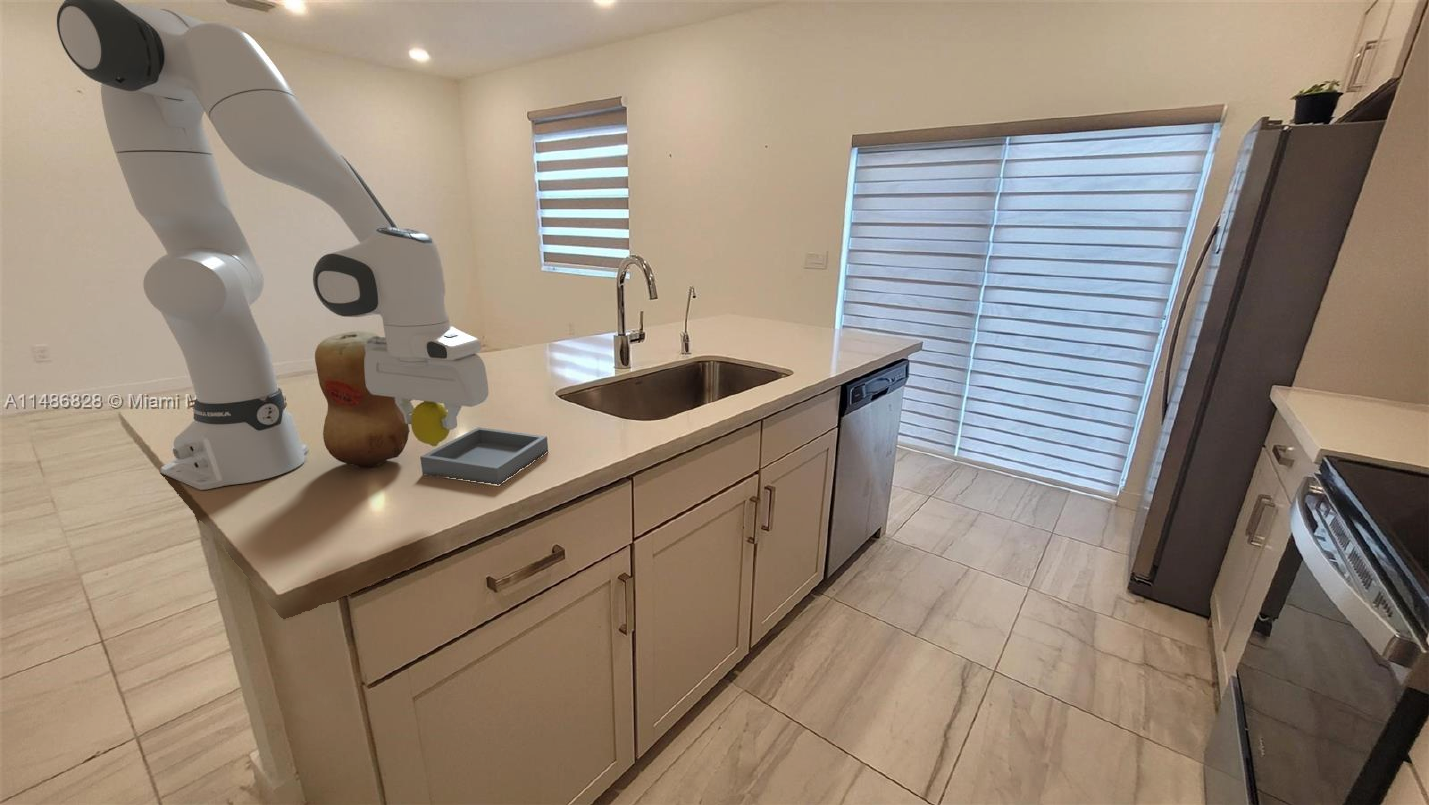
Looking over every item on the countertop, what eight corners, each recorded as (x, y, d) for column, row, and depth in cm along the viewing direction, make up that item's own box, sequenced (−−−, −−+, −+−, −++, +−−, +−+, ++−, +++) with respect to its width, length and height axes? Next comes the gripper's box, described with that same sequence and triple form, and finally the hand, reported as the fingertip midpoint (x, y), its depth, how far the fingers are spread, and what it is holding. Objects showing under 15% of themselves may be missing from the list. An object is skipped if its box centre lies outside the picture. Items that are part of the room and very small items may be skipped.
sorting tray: (422, 474, 100) (420, 456, 99) (480, 443, 115) (478, 427, 114) (499, 486, 97) (497, 468, 96) (548, 452, 111) (547, 436, 110)
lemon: (407, 448, 88) (399, 401, 85) (439, 437, 93) (432, 391, 90) (429, 456, 85) (421, 407, 83) (460, 444, 90) (454, 397, 87)
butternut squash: (313, 479, 97) (282, 340, 90) (354, 450, 110) (331, 326, 102) (394, 479, 98) (371, 341, 91) (426, 449, 111) (408, 326, 103)
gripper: (346, 338, 83) (361, 424, 87) (461, 350, 78) (472, 440, 82) (380, 331, 89) (393, 412, 93) (490, 341, 84) (498, 426, 88)
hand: (431, 425), depth 88 cm, fingers closed on lemon, 6 cm apart
